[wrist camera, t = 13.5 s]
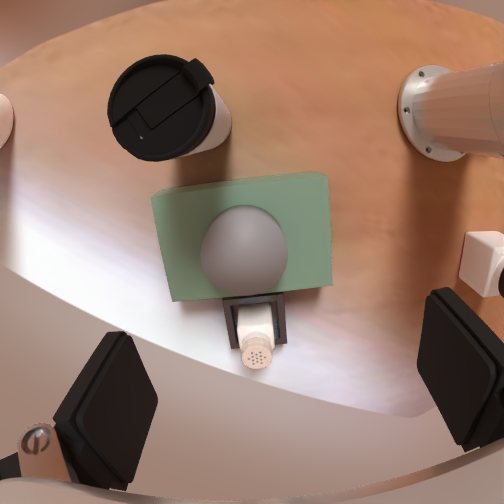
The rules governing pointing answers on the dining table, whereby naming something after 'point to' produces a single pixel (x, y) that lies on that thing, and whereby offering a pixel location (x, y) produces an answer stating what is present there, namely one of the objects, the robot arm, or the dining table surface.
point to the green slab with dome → (245, 236)
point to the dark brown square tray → (233, 303)
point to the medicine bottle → (483, 262)
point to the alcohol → (5, 119)
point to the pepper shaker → (255, 334)
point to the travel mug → (167, 109)
